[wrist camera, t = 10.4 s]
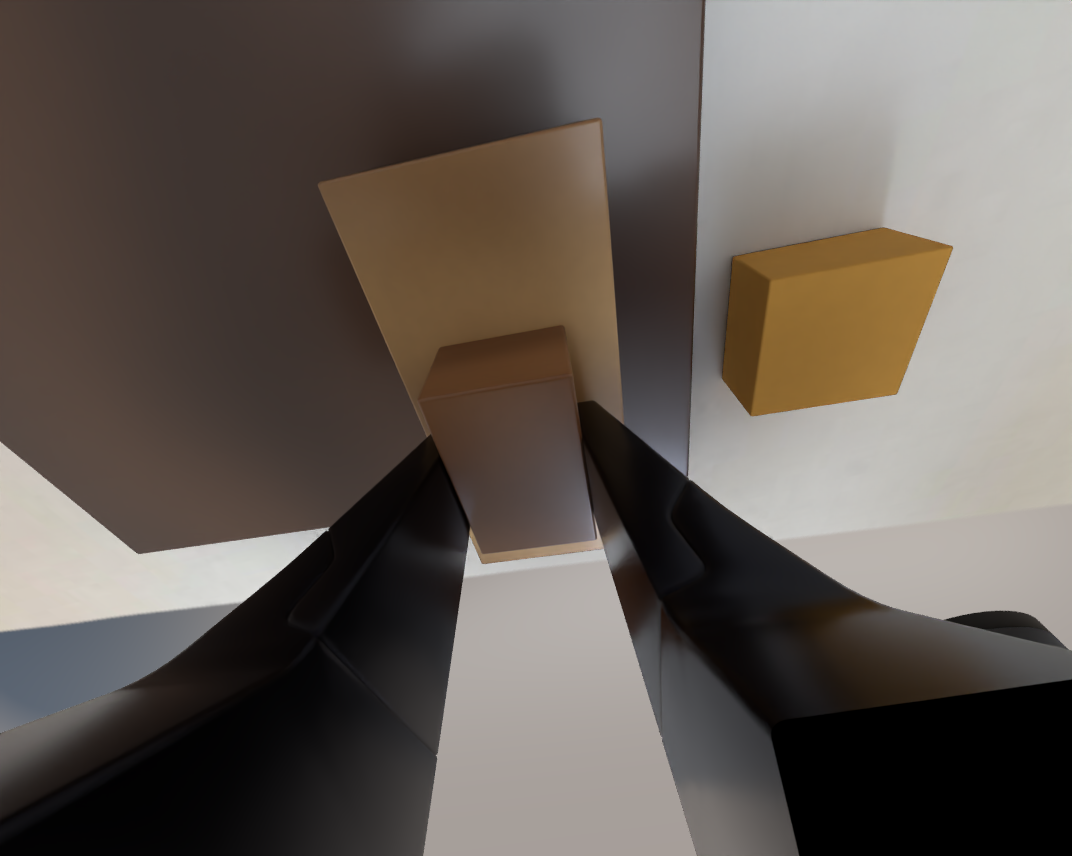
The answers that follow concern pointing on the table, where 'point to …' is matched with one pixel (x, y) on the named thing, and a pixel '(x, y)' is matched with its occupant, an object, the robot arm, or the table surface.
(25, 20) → the board
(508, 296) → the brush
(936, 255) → the mustard orange square block
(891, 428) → the table surface
